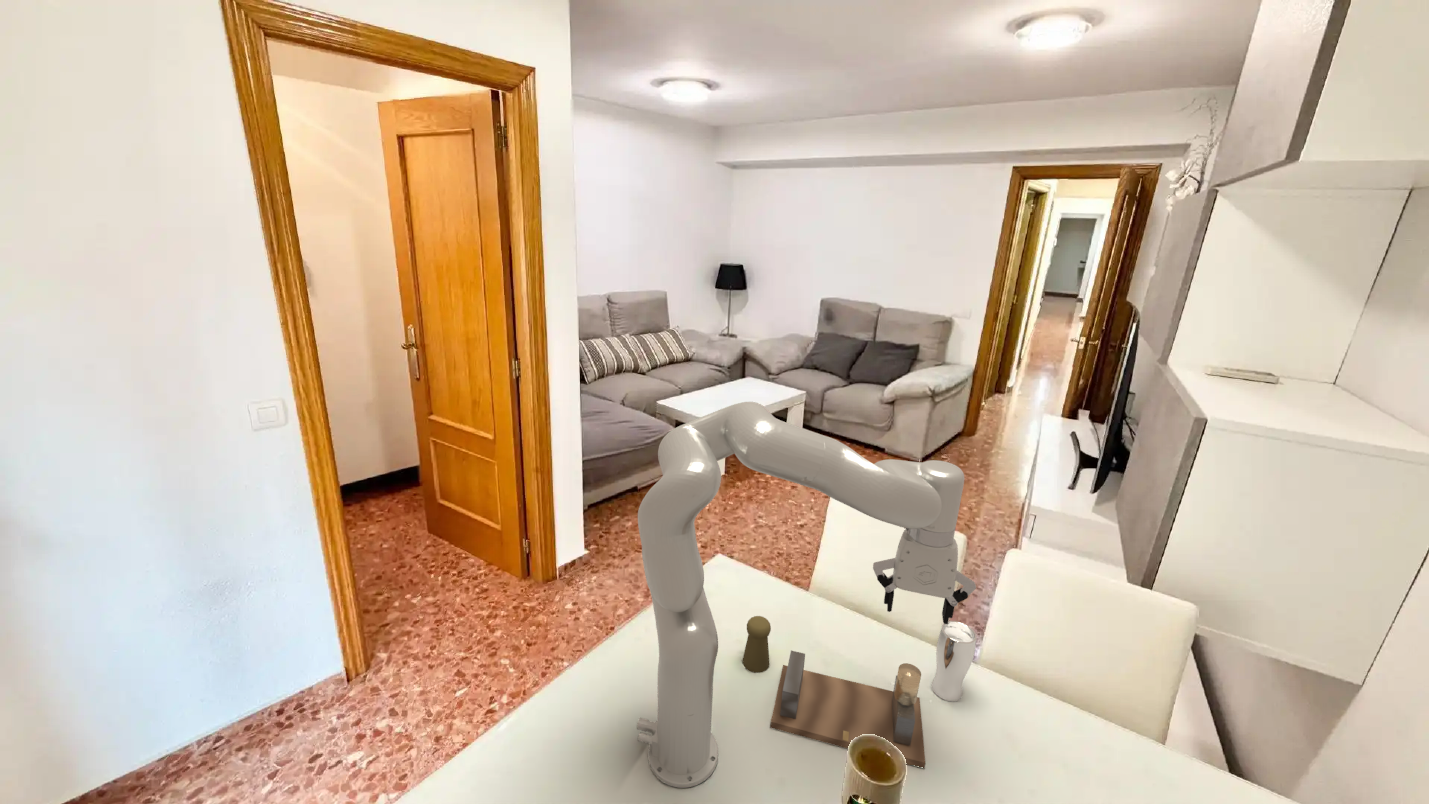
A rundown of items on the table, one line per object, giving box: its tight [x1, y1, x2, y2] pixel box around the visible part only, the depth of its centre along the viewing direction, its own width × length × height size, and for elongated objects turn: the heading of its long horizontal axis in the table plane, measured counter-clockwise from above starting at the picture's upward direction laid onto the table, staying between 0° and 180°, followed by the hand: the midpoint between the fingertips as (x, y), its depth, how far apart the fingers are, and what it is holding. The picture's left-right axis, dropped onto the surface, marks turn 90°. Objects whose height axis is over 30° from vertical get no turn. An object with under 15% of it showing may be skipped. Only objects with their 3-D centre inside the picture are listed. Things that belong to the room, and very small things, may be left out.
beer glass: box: [930, 620, 978, 703], centre depth 114 cm, size 7×7×15 cm
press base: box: [769, 650, 926, 769], centre depth 108 cm, size 28×15×8 cm, turn 74°
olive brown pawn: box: [741, 615, 772, 674], centre depth 120 cm, size 6×6×11 cm
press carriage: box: [892, 662, 922, 746], centre depth 104 cm, size 4×10×12 cm, turn 164°
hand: (916, 613), depth 101 cm, fingers open, 9 cm apart
